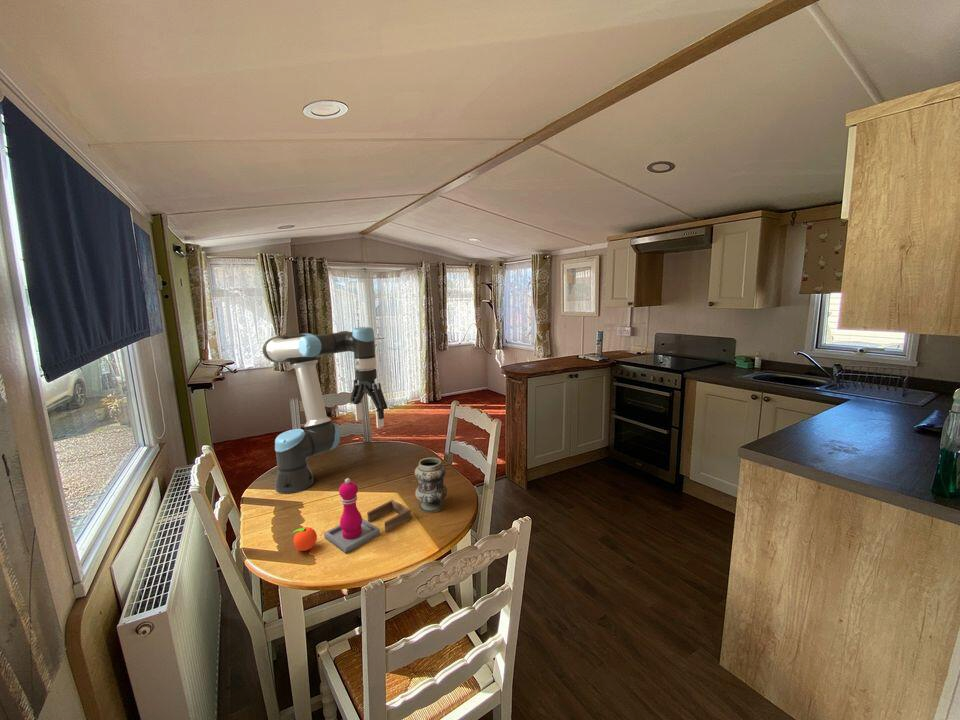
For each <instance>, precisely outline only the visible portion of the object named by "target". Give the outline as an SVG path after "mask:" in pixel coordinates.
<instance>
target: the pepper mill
mask: <svg viewBox="0 0 960 720" xmlns="http://www.w3.org/2000/svg"><path fill="white" fill-rule="evenodd" d="M358 491H359V487H358V485H357V483H356V482H355V481H354V482H353V481H351V479H350V478H349V477H347V478H345V479H344V482H342V484H341V485H340V486H339V489H338V494H339V496H340V499H341V504H342V505H343V512H342V515H341V517H340V520H339V525H340V527H341V528H342V529H343V530H342V536H343V537H344V538H345V539H354V538H356V537H358V536H360V535H361V533H362V527H361V524H362V518H363V517H362V514H361V512H360V511H359V509H358V508H357V501H358V495H357V494H358Z"/></svg>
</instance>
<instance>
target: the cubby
mask: <svg viewBox="0 0 960 720" xmlns="http://www.w3.org/2000/svg"><path fill="white" fill-rule="evenodd" d="M391 511H392V512H394V513H396V514H397V515H394V516H393V517H391V518H390V519H388V520H385V521H384V532H385V533H388V532H390V531H393V530H394V529H396V528H397V527H400V526H401V525H403V524H405V523H406V522H408V521H410V520H411V519H412V508H409V507H407V506H405V505H403V504H401V503H399V502H398V501H395V500H394V499H391V500H389V501H387V502H385V503H383V504H381V505H379V506H377V507H375V508H373V509H371V510H369V511H367V513H366V515H367V521H368V522H369V523H371V522H373V521H375V520H377V519H379V518H380V517H382V516H384V515H386V514H388V513H390V512H391Z"/></svg>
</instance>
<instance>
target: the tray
mask: <svg viewBox="0 0 960 720" xmlns="http://www.w3.org/2000/svg"><path fill="white" fill-rule="evenodd" d="M361 527H362V533H361V535H360V536H358V537H356V538H354V539H345V538H344V537H343V536H342V530H343V529H342V528H341V527H340V524H339V525H337V526H334V527H333V528H331V529H328V530H327V531H324V532H323V535H324V539H325V540H326V541H328V542H329V543H331V544H332V545H333V546H335V547H336V548H337V549H339V550H340V551H341V552H343V553H345V554H348V553H350V552H352V551H354V550H356V548H359V547H361V546H362V545H364V544H365V543H367V542H369V541H371V540H373V539H374V538H377V537H378V536H380V535H381V529H380V528H379V527H378V526H375V525H374V524H372V523H371V522H368V520H366V519H365V518H363V517H362V524H361Z"/></svg>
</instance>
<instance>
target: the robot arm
mask: <svg viewBox="0 0 960 720" xmlns="http://www.w3.org/2000/svg"><path fill="white" fill-rule="evenodd" d="M375 339H376V338H375V332H374V328H373V327H369V326H359V327H354V328H353V329H352V331H349V330H341V331H337V332H331V333H323V334H322V333H321V334H312V333H304V332H303V333H295V334H286V335H277V336H273V337H270V338H269V339H267V340H266V341H265V342H264V344H263V346H262V354H263V356H264V358H266V359H267V360H268V361H270V362H273V363H276V364H277V363H278V364H279V363H281V364H282V363H289V365H290V368H293V369H294V371H295V375H296V379H297V384H298V389H299V392H300V398H301V401H302V406H303V410H304V415H305V419H306V422H305V424H304V426H303V428H304V429H302V428H294V429H289V430H286V431H283V432H281V433H279V434H278V435H277V436H276V437H275V440H274V452H275V457H276V465H277V466H276V467H277V473H276V477H275V478H276V479H275V480H274V481H275V482H274V488H275V491H276V492H277V493H279V494H292V493H293V494H294V493H299V492H301V491H304V490H307V489H308V488H310V487H312V485H313V484H314V482H315V480H314V475H313V473H312V471H311V468H310V466H309V463H308V459H309V458H311V457H313V456H316V455H320V454H323V453H325V452H329V451H331V450H333V449H336V447H338V445H339V443H340V442H341V441H340V440H341V433H340V432H341V431H340V428H339V426H338V424H336V423H335V422H332V418H329V417H328V414H327V412H326V406H325V402H324V397H323V393H322V389H321V384H320V380H319V375H318V370H317V364H318V362H319V359H318V358H320V357H321V356H324V355H331V354H339V353H345V352H346V353H347V352H351V353H352V352H353V355H354V356H353V357H354V367H355V369H356V370H355V379H354V380H353V388H352V392H351V395H350V402H352V403H353V405H354V412H355V422H356V421H357V422H358V421H361V420H364V414H363V413H364V412H363V403H362V400H363V398H364V396H365V394H366V395H368V396H369V397H370V399H371V401H372V403H373V404H374V406H375V408H376V410H375V419H376V420H375V421H376V422H375V423H376V429H381V428H383V427H385V420H384V418H385V412H384V410H387V409H388V405H387V402H386V399H385V396H384V393H383V391H382V390H383V389H382V386H381V385H382V384H381V383H380V382H378V383H376V382H375V380H376V379H377V377H378V374H377V368H376V367H377V360H376V359H377V358H376V340H375Z"/></svg>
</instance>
